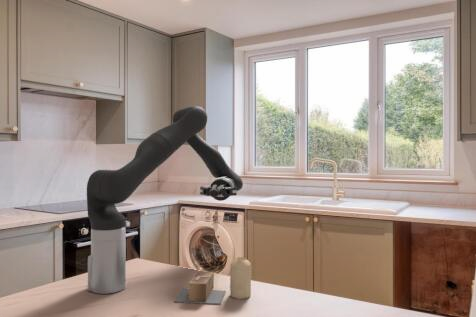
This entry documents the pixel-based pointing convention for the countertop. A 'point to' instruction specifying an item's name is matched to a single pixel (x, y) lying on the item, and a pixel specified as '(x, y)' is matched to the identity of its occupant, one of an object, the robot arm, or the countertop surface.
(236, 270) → the candle
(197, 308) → the countertop surface
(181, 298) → the mat
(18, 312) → the countertop surface
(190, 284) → the tan rectangular block
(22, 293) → the countertop surface
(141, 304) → the countertop surface
